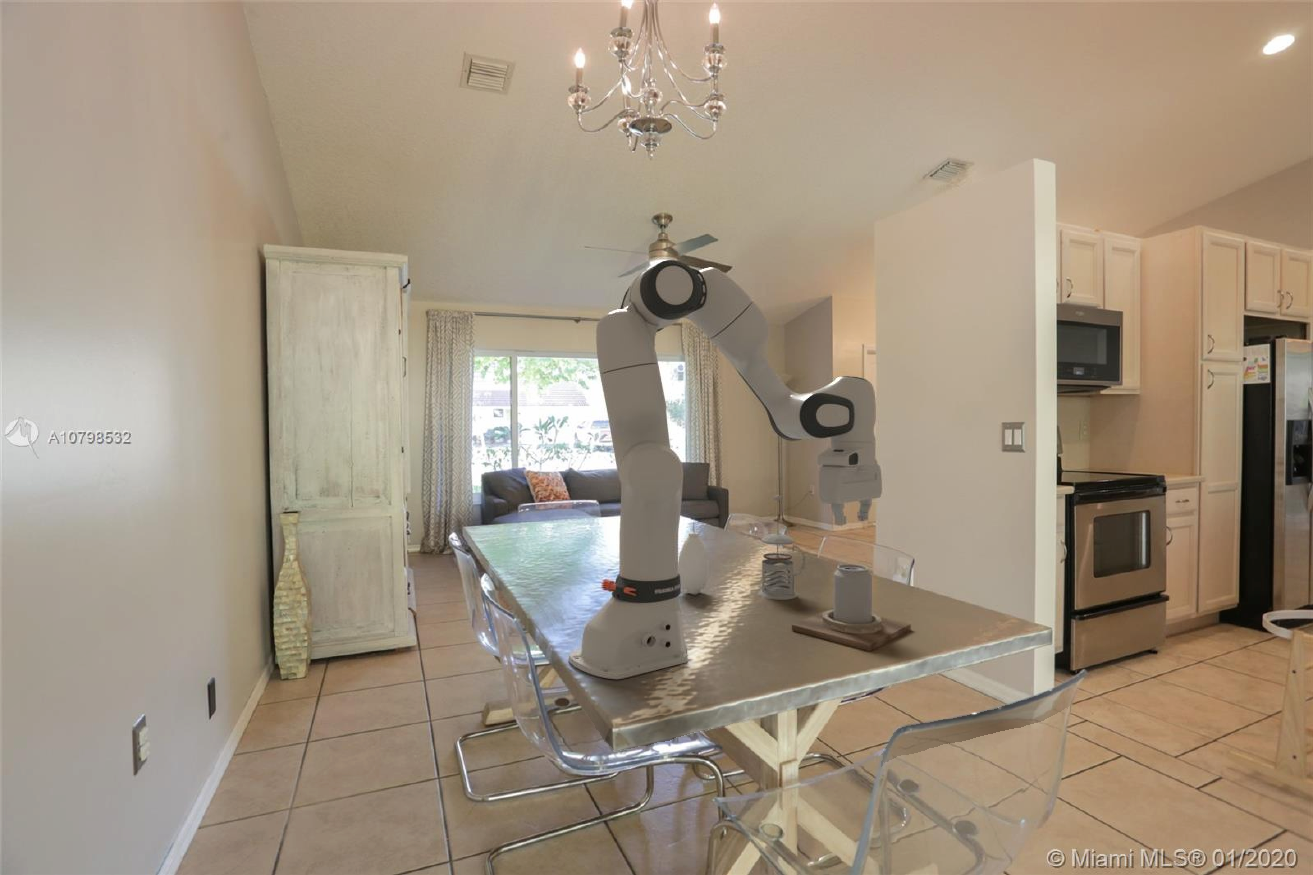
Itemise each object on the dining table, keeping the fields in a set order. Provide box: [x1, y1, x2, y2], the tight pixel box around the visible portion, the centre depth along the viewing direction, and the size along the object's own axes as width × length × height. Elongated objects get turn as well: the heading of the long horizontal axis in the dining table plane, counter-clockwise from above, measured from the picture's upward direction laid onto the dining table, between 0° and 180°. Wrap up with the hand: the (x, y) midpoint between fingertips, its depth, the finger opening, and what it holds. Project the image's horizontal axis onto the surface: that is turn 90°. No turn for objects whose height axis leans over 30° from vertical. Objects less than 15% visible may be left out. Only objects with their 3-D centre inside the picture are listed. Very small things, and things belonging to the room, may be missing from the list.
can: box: [833, 563, 873, 624], centre depth 128 cm, size 8×8×12 cm
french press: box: [757, 494, 806, 601], centre depth 156 cm, size 10×12×25 cm
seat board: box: [791, 607, 912, 652], centre depth 129 cm, size 18×17×3 cm
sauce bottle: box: [678, 522, 710, 595], centre depth 157 cm, size 8×8×18 cm
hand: (851, 522), depth 128 cm, fingers open, 8 cm apart
